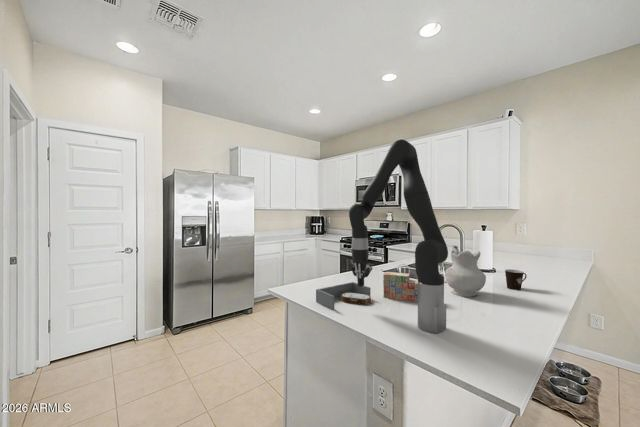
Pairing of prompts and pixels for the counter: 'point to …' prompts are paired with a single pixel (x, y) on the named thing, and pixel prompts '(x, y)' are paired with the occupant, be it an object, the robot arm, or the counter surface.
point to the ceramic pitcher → (465, 273)
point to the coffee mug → (514, 279)
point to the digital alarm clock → (356, 298)
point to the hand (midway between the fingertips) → (360, 286)
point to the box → (338, 293)
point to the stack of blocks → (400, 286)
